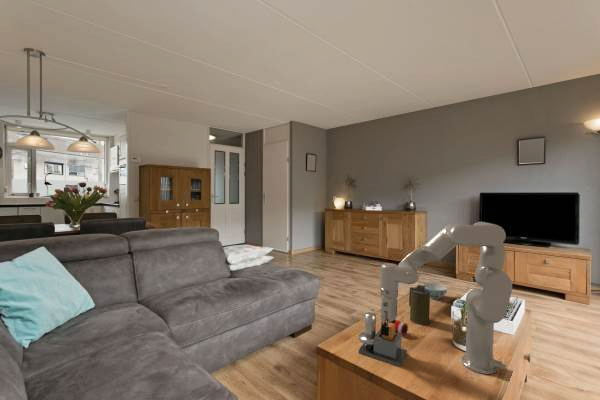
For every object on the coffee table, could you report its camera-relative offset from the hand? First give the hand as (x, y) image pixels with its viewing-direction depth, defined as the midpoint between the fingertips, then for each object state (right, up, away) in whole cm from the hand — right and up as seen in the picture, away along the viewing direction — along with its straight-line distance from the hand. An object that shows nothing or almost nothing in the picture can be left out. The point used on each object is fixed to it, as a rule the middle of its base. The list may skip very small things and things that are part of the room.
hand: (388, 330), depth 127 cm
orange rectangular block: (0, -9, 0) cm, 9 cm away
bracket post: (-4, -11, +2) cm, 11 cm away
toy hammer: (+6, -11, +19) cm, 23 cm away
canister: (+28, -11, +35) cm, 47 cm away
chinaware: (+54, -10, +72) cm, 91 cm away
